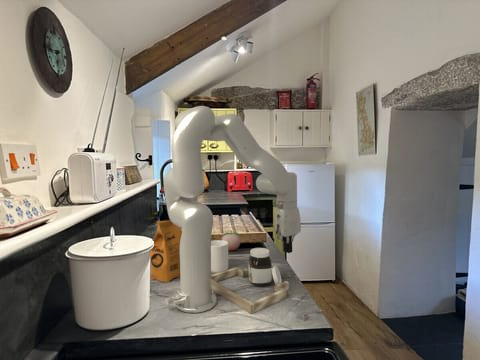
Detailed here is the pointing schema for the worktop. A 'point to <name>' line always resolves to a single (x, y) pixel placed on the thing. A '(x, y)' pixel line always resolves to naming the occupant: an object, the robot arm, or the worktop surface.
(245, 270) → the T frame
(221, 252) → the mug
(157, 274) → the coffee package
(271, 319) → the worktop surface
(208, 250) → the robot arm
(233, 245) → the decorative fruit
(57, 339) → the worktop surface
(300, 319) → the worktop surface
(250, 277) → the spread jar
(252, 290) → the worktop surface
